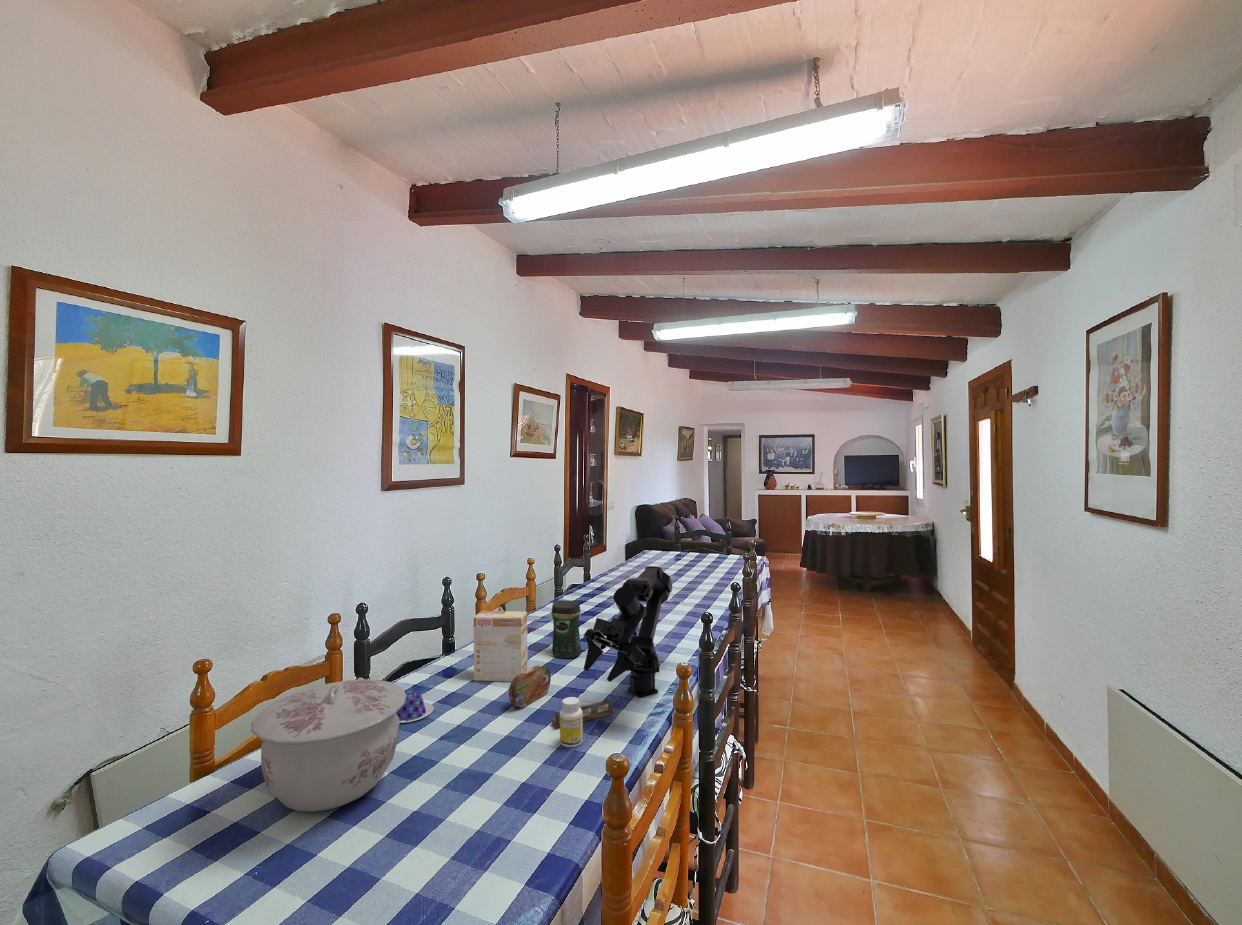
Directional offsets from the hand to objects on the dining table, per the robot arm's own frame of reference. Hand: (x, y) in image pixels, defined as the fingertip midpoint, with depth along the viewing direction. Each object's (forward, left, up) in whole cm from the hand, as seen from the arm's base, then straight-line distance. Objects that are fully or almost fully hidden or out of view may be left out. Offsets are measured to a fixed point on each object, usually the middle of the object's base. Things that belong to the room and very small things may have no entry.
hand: (596, 675), depth 134 cm
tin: (+10, -20, -12) cm, 26 cm away
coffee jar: (-13, -47, -12) cm, 50 cm away
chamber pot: (+58, -2, -12) cm, 60 cm away
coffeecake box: (+12, -40, -12) cm, 44 cm away
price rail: (+2, -3, -12) cm, 12 cm away
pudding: (+40, -29, -12) cm, 51 cm away
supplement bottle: (+10, +6, -12) cm, 16 cm away
